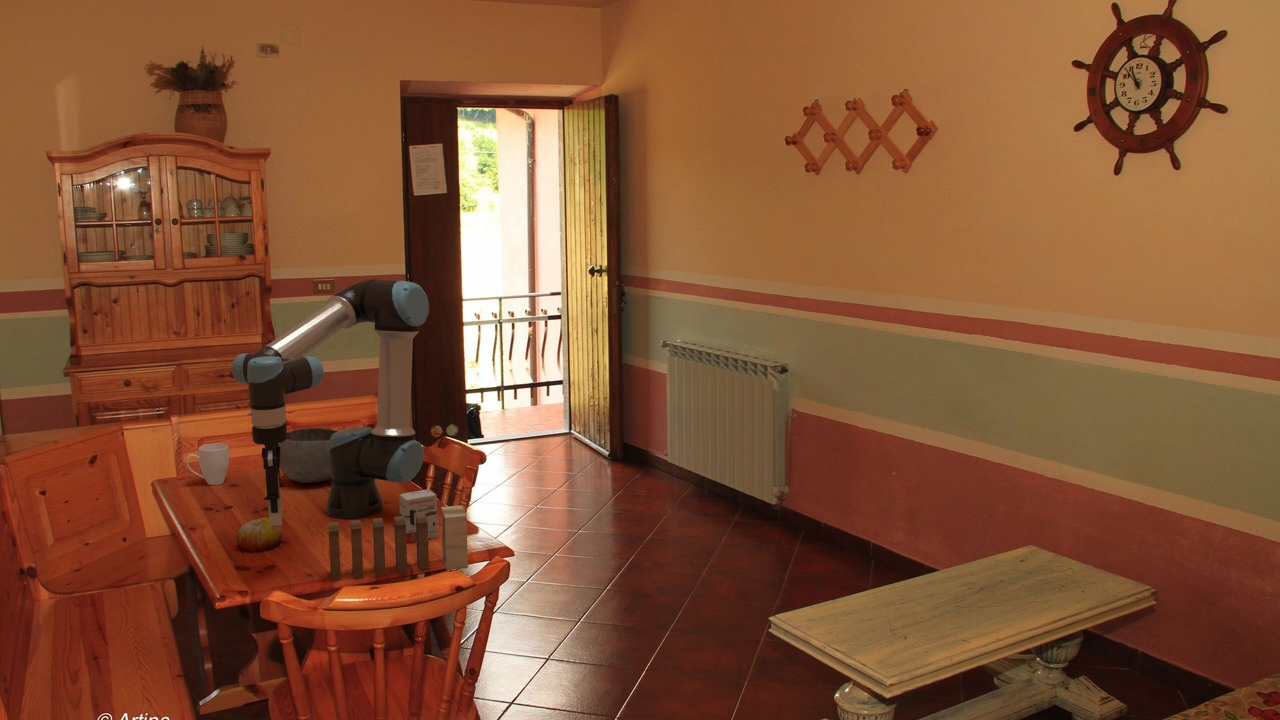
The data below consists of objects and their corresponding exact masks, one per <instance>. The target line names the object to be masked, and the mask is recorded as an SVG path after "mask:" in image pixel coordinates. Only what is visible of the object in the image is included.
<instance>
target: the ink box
mask: <svg viewBox="0 0 1280 720" xmlns="http://www.w3.org/2000/svg"><path fill="white" fill-rule="evenodd" d="M437 500H438V499H437V494H436V493H435V492H434V491H433V490H431V489H428V488H427V489H423V490H418V491H410V492H405V493H400V494H399V516H404V519H405V523H406V542H410V543H413V542H412V541H415V542H416V515H420V514H425V515H426V519H427V522H428V540H429V538H431V539H435V537H436V538H438V504H437V503H438V501H437Z"/></svg>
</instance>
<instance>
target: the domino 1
mask: <svg viewBox="0 0 1280 720" xmlns="http://www.w3.org/2000/svg"><path fill="white" fill-rule="evenodd" d="M278 485H279V474H278ZM280 488H281V487H280V486H279V495H280ZM280 503H281V500H280ZM281 516H282V517H283V515H282V513H281ZM282 525H283V524H282ZM282 525H276V526H271V531H274V530H281V531H282V528H283V527H282Z"/></svg>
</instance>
